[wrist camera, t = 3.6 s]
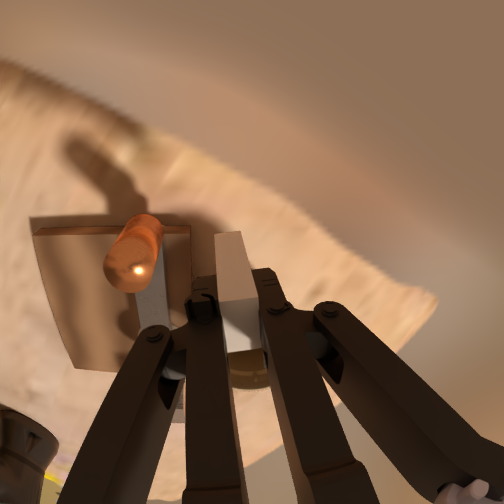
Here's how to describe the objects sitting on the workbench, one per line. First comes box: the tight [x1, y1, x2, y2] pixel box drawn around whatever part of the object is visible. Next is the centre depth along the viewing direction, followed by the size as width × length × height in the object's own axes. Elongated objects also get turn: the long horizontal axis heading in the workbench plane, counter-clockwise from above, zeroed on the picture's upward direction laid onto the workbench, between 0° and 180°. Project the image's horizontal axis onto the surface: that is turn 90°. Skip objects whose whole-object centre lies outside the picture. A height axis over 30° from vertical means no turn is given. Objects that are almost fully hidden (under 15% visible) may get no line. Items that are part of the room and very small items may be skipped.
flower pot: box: [228, 347, 270, 392], centre depth 28 cm, size 9×9×9 cm
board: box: [32, 226, 192, 373], centre depth 29 cm, size 16×18×2 cm
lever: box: [103, 214, 186, 423], centre depth 25 cm, size 23×5×8 cm, turn 176°
